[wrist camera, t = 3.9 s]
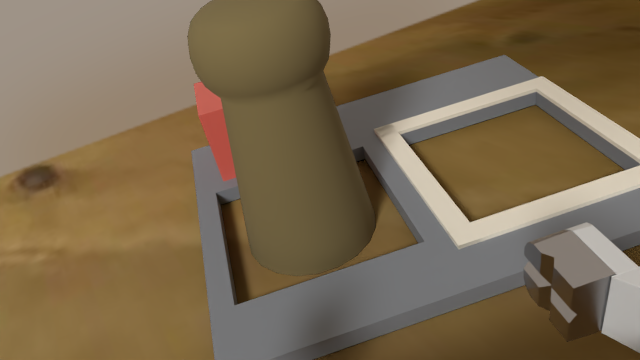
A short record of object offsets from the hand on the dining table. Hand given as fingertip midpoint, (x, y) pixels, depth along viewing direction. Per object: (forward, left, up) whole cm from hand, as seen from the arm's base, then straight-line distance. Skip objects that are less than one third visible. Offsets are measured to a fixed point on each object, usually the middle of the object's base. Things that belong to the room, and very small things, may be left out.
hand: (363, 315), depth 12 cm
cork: (0, +11, -7) cm, 13 cm away
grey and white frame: (+5, +12, -6) cm, 15 cm away
